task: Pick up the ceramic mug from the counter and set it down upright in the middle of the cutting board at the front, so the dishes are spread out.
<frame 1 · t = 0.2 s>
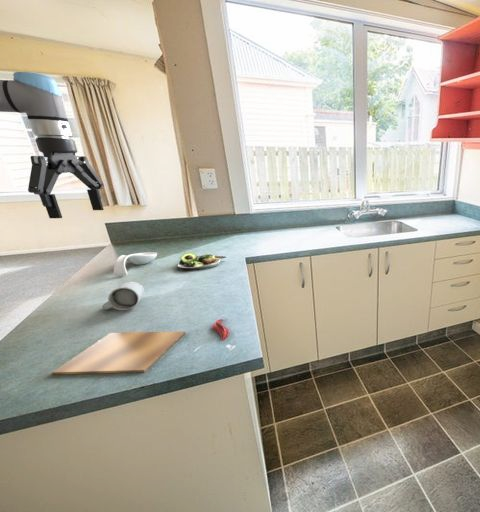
hand: (78, 213, 88), 30 cm above the worktop, tool pointing down, fingers open, 13 cm apart
spoon rest: (136, 267, 132), on the worktop
cayenne pepper: (220, 330, 84), on the worktop
ceramic mug: (125, 306, 97), on the worktop
salad plate: (199, 264, 136), on the worktop
cutting board: (126, 351, 74), on the worktop
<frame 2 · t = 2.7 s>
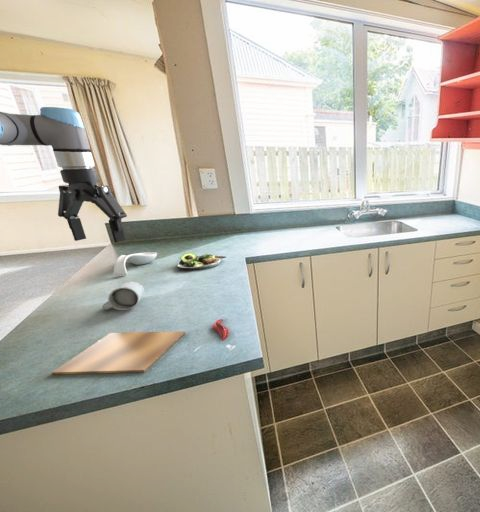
hand: (100, 240, 90), 22 cm above the worktop, tool pointing down, fingers open, 13 cm apart
nothing on the worktop moved.
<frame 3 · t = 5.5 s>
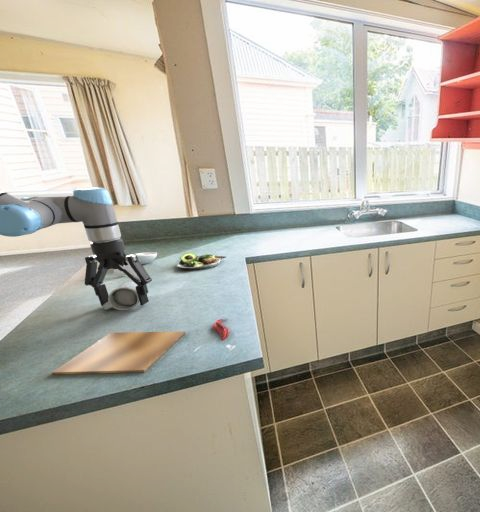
hand: (125, 303, 97), 1 cm above the worktop, tool pointing down, fingers closed on ceramic mug, 11 cm apart
ceramic mug: (125, 306, 97), on the worktop, touching gripper
everything else where it was.
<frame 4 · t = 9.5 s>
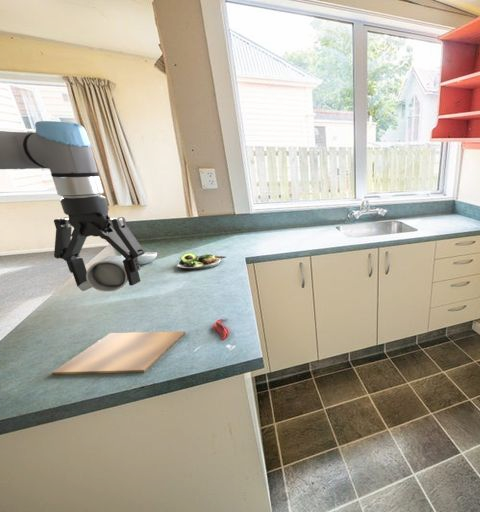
hand: (109, 283, 74), 16 cm above the worktop, tool pointing down, fingers closed on ceramic mug, 11 cm apart
ceramic mug: (109, 287, 74), point 15 cm above the worktop, touching gripper
everything else where it was.
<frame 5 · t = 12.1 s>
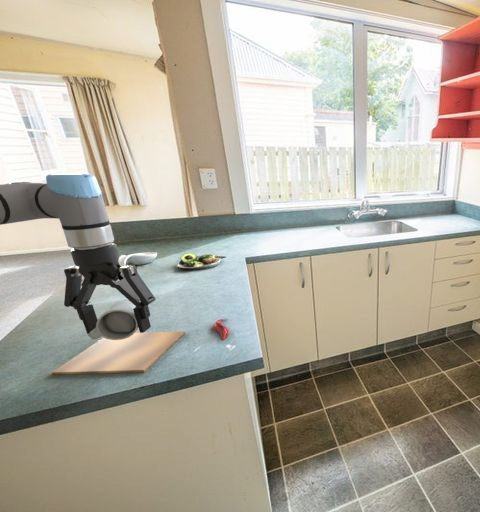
hand: (119, 330, 72), 6 cm above the worktop, tool pointing down, fingers closed on ceramic mug, 11 cm apart
ceramic mug: (119, 334, 73), point 5 cm above the worktop, touching gripper
everything else where it was.
when the fingers open (1 cm above the worktop, at t = 13.9 s): ceramic mug stays where it is, resting on cutting board.
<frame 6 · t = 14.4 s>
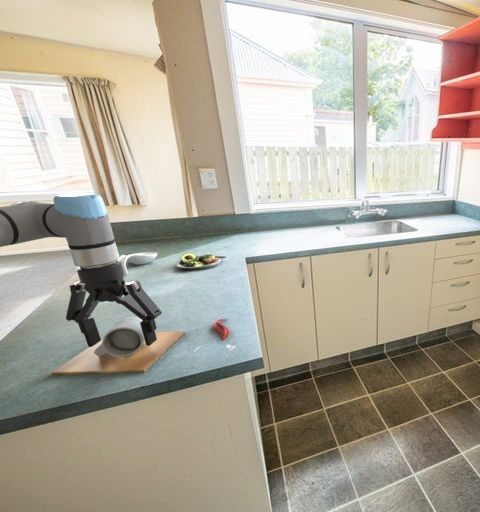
hand: (123, 343, 74), 2 cm above the worktop, tool pointing down, fingers open, 13 cm apart
ceramic mug: (124, 350, 74), resting on cutting board
everything else where it was.
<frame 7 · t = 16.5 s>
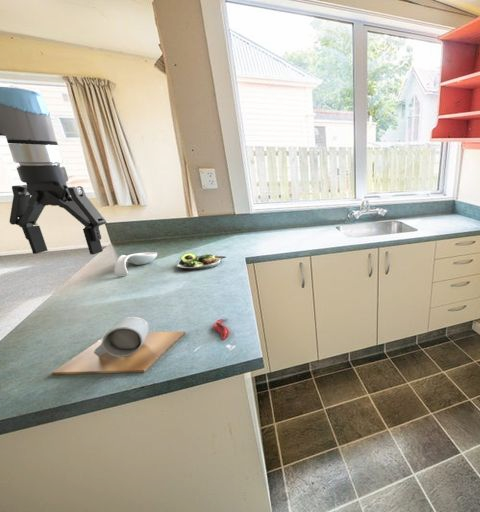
hand: (68, 252, 74), 24 cm above the worktop, tool pointing down, fingers open, 13 cm apart
nothing on the worktop moved.
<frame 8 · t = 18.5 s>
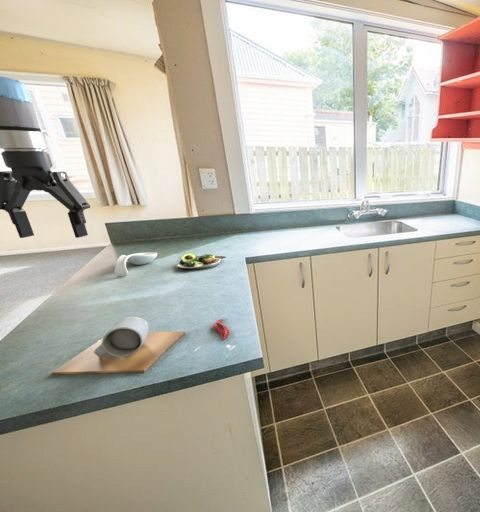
hand: (54, 236, 77), 27 cm above the worktop, tool pointing down, fingers open, 13 cm apart
nothing on the worktop moved.
at the end: ceramic mug inside the target area on the cutting board (0.3 cm from its centre), point 0.4 cm above the cutting board's base; ceramic mug tilted 0°; the gripper is holding nothing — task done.
